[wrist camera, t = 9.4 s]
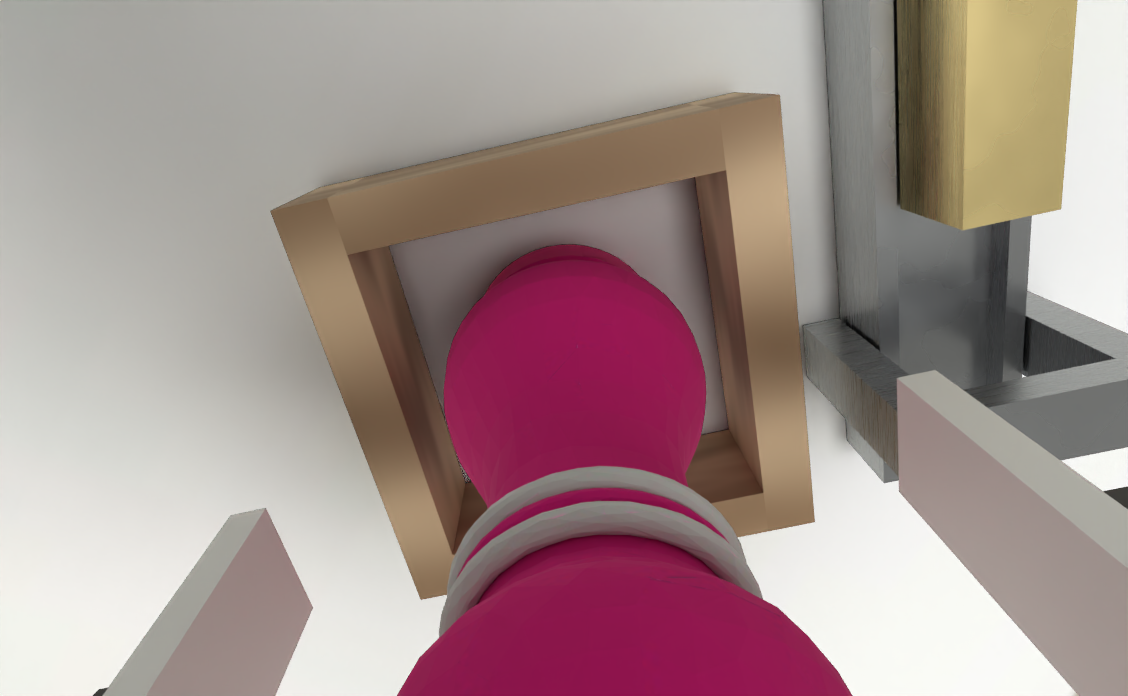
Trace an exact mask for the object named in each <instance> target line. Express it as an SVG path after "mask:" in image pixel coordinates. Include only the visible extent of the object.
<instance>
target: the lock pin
mask: <svg viewBox="0 0 1128 696" xmlns="http://www.w3.org/2000/svg"><path fill="white" fill-rule="evenodd" d="M1076 11H1077V0H897V33H898V94H899V155H900V209H903V210H906V211H909V212H912V213H914V214H917V215H920V216H923V217H926V218H929V219H932V220H934V221H937V222H940V223H943V224H946V225H949V226H952V227H955V228H957V229H960V230H967V229H971V228H976V227H981V226H985V225H990V224H995V223H999V222H1004V221H1009V220H1013V219H1018V218H1022V217H1027V216H1032V215H1036V214H1041V213H1046V212H1050V211H1055V210H1060V209H1061V204H1062V191H1063V178H1064V165H1065V152H1066V140H1067V127H1068V114H1069V101H1070V88H1071V76H1072V63H1073V50H1074V37H1075V24H1076Z"/></svg>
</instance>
